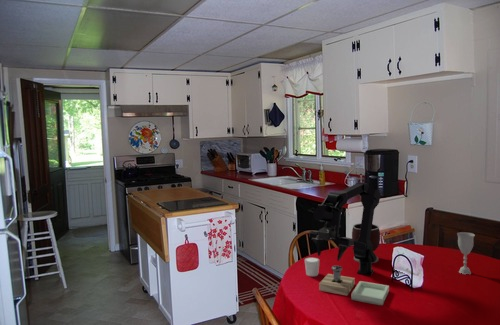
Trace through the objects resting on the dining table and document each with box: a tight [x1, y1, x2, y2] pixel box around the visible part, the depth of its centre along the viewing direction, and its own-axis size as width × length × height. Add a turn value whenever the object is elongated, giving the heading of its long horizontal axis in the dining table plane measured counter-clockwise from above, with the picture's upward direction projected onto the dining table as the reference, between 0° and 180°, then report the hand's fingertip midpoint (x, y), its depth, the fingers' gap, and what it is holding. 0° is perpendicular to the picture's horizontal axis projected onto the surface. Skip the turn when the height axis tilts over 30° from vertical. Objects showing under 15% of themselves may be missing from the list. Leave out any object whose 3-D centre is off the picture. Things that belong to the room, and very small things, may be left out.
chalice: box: [456, 231, 476, 275], centre depth 181 cm, size 7×7×18 cm
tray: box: [350, 280, 390, 306], centre depth 162 cm, size 14×12×2 cm
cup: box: [304, 256, 320, 277], centre depth 186 cm, size 7×7×7 cm
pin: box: [331, 265, 343, 283], centre depth 170 cm, size 4×4×9 cm
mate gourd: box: [351, 223, 381, 264], centre depth 204 cm, size 16×14×20 cm
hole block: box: [318, 273, 356, 296], centre depth 170 cm, size 12×12×3 cm
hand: (328, 258), depth 169 cm, fingers open, 9 cm apart
